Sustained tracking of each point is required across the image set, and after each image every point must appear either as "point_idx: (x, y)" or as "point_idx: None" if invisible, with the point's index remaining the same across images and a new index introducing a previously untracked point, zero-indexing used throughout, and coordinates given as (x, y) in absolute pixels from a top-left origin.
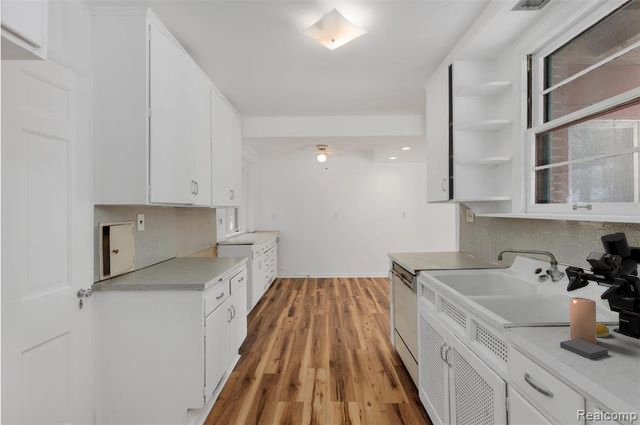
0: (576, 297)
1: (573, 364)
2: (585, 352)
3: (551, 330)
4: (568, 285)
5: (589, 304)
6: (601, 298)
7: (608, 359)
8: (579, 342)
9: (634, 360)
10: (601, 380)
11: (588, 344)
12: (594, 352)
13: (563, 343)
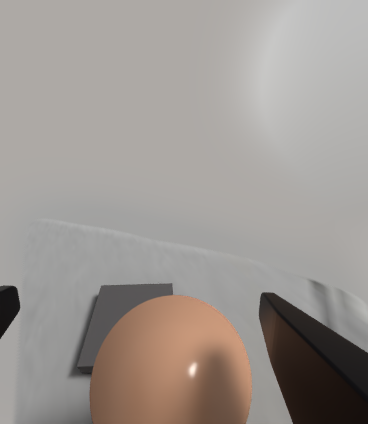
0: (246, 414)
1: (115, 247)
2: (111, 285)
3: None
4: (299, 313)
5: (112, 333)
6: (15, 298)
7: (75, 337)
8: None
9: (14, 417)
10: (67, 239)
11: None
12: (96, 303)
13: (163, 284)
